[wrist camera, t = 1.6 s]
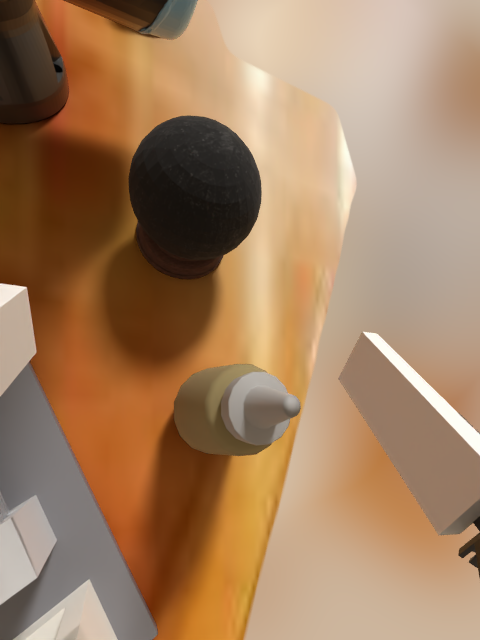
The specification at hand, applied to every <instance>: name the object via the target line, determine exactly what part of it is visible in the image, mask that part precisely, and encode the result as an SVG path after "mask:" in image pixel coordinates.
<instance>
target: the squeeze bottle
mask: <svg viewBox="0 0 480 640" xmlns="http://www.w3.org/2000/svg"><path fill="white" fill-rule="evenodd" d="M299 412H300V402H299V400H298V398H297V397H296V396H294V395H291V394H288V392H287V390H286V388H285V386H284V385H283V384H282V383H281V382H280V381H279V380H278V379H277V377H275V376H273V375H270V374H268V373H267V372H266V371H265V370H262V369H260V368H258V367H256V366H254V365H251V364H234V365H228V366H221V367H214V368H207V369H205V370H202V371H200V372H197V373H195V374H193V375H192V376H191V377H190V378H189V379H188V380H187V381H186V382H185V383H184V384H183V385H182V386H181V387H180V390H179V392H178V394H177V397H176V399H175V401H174V421H175V424H176V427H177V429H178V432H179V435H180V436H181V437H182V438H183V440H184V441H185V442H186V443H187V444H188V445H189V446H190V447H191V448H193V449H196V450H199V451H201V452H204V453H207V454H219V455H233V456H244V455H254V454H257V453H259V452H261V451H262V450H264V449H265V448H267V447H269V446H270V445H271V444H272V442H274V441H276V440H277V439H279V438H281V436H282V435H283V433H284V432H285V430H286V429H287V428H288V426H289V422H290V418H293V417H295V416H296V415H298V413H299Z"/></svg>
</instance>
